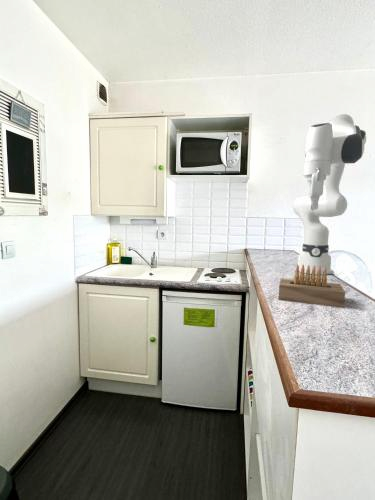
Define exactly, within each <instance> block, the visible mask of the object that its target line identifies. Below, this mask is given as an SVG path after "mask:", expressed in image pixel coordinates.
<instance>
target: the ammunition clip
mask: <svg viewBox="0 0 375 500" xmlns="http://www.w3.org/2000/svg"><path fill="white" fill-rule="evenodd" d="M295 267H296V270H294V272H295V273H294V277H293V278H294V279H293V280H294V284H297V285H307V286H317V287H326V285H327V283H328V277H327V275H328V274H327V269H326V266H325V267H324V269H323V275H321V267H320V266H319V267H318V271H317V274H315V272H316V270H315V266H313V268H312V274H310V266H309V265H308V266H307V270H306V273H304V271H305V270H304V265H302V268H301V272H300V271H299V265H298V263H297V264H296V266H295ZM299 280H300V281H299ZM304 281H305V283H304ZM315 282H316V284H315Z"/></svg>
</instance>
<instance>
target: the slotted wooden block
mask: <svg viewBox="0 0 375 500" xmlns="http://www.w3.org/2000/svg"><path fill="white" fill-rule="evenodd" d="M299 281H300V279H299ZM304 283H305V281H304ZM315 284H316V282H315ZM278 286H279V287H278V300H279V301H286V302H287V301H288V302H295V303H296V302H297V303H304V304H313V305H320V306H321V305H322V306H328V307H330V306H331V307H337V308H338V307H339V308H344V307H345V302H346V301H345V300H346V291H345V290H344V287H343V286H342V284H341V283H333V282H327V285H326V287H317V286H307V285H297V284H294V279H292V278H291V279H290V278H280V281H279V285H278Z"/></svg>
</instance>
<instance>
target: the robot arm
mask: <svg viewBox="0 0 375 500" xmlns="http://www.w3.org/2000/svg"><path fill="white" fill-rule="evenodd" d="M366 142H367V133H366V131H365V130H362V129H360V127H359V126H358V125H356V124H355V121H354V119H353V118H352V116H350V114H346V113H341V114H339V115H336V116H334V117H333V118H332V119H331V120H329V121H328V122H325V123H317V124H312V125H311V126H310V127H308V130H307V134H306V139H305V147H304V148H305V151H304V152H305V158H304V165H303V177H304V178H305V179H306V181H307V193H308V194H305V195H300V196H297V197H296V198H295V200H294V201H293V203H292V208H293V211H294V214H295V215H297V216H298V217H299V218H300V221H301V222H302V225H303V235H304V236H303V244H302V249H301V250H302V252H300V254H299V255H298V257H297V264H298V265H299V273H301V268H302V265H304V270H305V271H304V274H306V270H307V266H308V265H309V266H310V275H311V274H312V268H313V266H315V270H316V272H315V274H316V275H317V271H318V267H319V266H320V267H321V276H322V275H323V269H324V267H325V266H326V269H327V275H331V274H335V271H334V270H333V269H332V257H331V255H330V254H329V249H330V248H329V247H330V246H329V234H330V231H329V228H328V227H327V226H326V225H324V224H323V223H322V222H321V220H320V218H321V217H322V218H333V217H339V216H342V215H343V214H344V213H346V210H347V208H348V200H347V198H346V197H345V196H344V195H343V194H342V193H341V191H340V183H341V179H342V176H343V173H344V169H345V166H346V164H355V163H357V162H358V161H360V160H361V158H362V157H363V155H364V153H365V152H364V151H365V144H366ZM295 270H296V266H295V267H294V268H293V271H295Z"/></svg>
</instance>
